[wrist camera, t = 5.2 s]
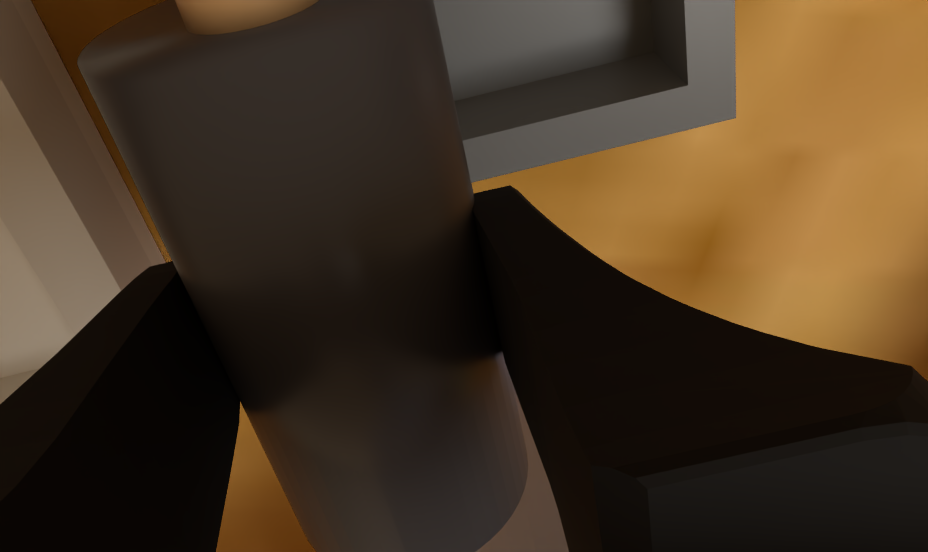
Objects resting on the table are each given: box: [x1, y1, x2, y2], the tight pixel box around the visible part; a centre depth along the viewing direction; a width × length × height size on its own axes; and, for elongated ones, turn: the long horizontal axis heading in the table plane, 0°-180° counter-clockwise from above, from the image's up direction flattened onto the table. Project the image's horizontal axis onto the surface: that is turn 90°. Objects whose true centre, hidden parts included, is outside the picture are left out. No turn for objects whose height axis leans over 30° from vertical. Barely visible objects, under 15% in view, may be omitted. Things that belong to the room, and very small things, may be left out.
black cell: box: [77, 0, 528, 552], centre depth 11 cm, size 9×4×4 cm, turn 11°
